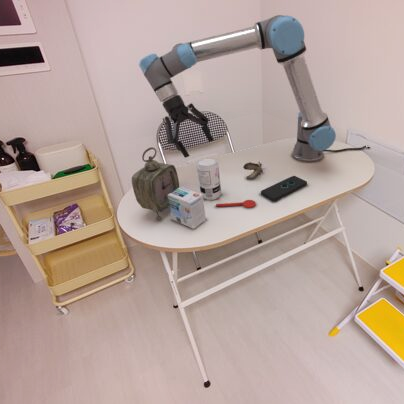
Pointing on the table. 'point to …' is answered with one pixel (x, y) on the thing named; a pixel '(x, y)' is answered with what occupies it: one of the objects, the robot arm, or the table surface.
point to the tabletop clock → (154, 184)
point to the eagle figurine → (254, 167)
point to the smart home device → (283, 188)
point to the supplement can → (209, 178)
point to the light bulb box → (187, 207)
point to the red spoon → (246, 204)
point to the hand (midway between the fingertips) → (199, 148)
